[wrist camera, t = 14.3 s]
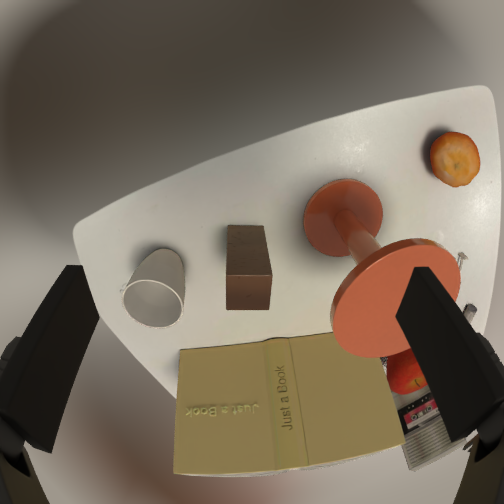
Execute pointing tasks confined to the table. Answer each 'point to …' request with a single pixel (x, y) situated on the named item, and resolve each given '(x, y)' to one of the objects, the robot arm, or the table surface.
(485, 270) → the table surface
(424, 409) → the cassette tape recorder
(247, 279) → the walnut block
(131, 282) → the cup
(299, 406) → the book
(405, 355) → the apple
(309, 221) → the orange pedestal stand
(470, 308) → the rod
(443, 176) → the fruit
